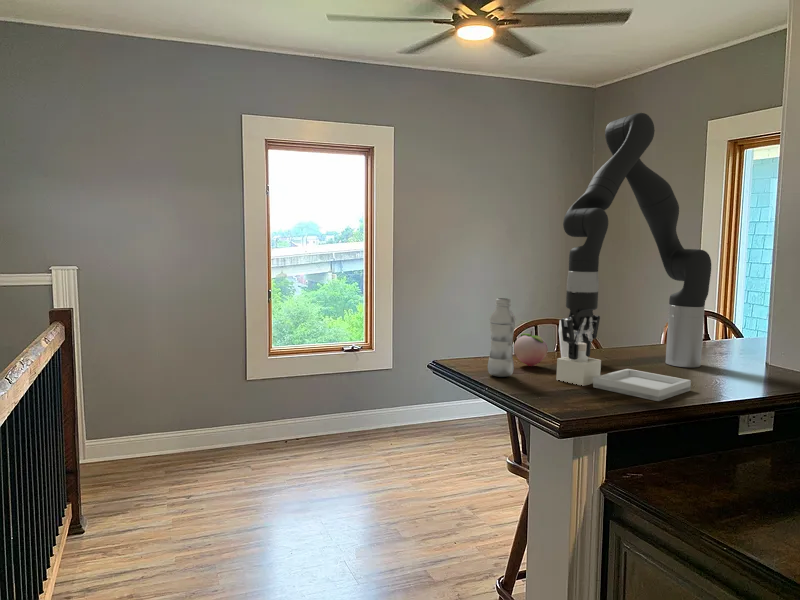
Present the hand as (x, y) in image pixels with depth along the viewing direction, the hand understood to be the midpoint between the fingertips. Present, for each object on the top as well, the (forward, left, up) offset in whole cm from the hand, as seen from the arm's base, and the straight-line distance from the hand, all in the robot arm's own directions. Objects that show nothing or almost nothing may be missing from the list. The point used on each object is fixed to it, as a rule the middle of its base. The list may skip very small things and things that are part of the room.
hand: (579, 357), depth 150 cm
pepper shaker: (0, 0, -6) cm, 6 cm away
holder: (0, 0, -6) cm, 6 cm away
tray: (-5, +14, -6) cm, 16 cm away
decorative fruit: (-4, -18, -6) cm, 19 cm away
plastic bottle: (+12, -15, -6) cm, 20 cm away
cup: (-21, -15, -6) cm, 27 cm away
